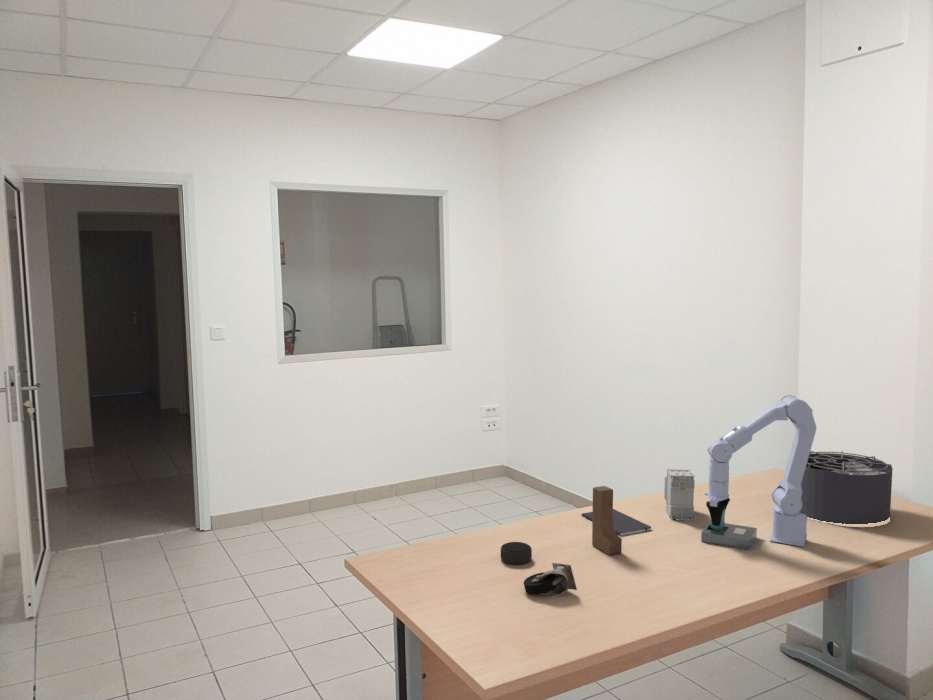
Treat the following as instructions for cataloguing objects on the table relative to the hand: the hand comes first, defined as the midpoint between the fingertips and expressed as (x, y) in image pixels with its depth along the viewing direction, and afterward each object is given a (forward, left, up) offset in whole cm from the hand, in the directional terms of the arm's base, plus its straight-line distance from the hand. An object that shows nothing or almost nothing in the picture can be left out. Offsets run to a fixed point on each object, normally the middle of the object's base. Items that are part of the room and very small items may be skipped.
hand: (717, 523), depth 227 cm
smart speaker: (+46, +46, -5) cm, 66 cm away
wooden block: (+26, +26, -5) cm, 37 cm away
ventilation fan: (-32, -45, -5) cm, 55 cm away
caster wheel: (+30, +62, -5) cm, 69 cm away
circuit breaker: (+16, -18, -5) cm, 25 cm away
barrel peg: (0, 0, -1) cm, 1 cm away
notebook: (+32, +2, -5) cm, 32 cm away
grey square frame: (-4, 0, -5) cm, 6 cm away
